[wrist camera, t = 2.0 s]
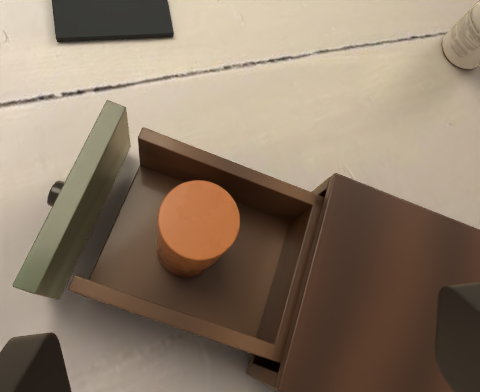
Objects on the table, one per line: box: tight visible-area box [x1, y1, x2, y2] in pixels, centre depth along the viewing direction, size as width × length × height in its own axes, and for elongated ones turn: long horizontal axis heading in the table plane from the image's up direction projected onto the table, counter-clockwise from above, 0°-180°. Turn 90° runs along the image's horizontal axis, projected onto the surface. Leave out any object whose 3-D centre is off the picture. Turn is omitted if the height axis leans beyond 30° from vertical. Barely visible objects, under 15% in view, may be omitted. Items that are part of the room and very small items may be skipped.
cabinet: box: [246, 173, 480, 392], centre depth 27 cm, size 16×13×8 cm
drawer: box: [13, 100, 325, 363], centre depth 26 cm, size 16×11×6 cm
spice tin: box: [156, 180, 240, 277], centre depth 24 cm, size 4×4×8 cm
